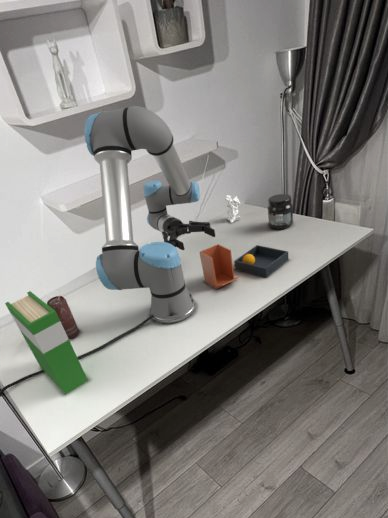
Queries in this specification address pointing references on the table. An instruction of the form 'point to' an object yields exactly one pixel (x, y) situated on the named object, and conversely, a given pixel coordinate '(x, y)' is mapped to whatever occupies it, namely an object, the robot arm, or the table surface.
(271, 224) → the supplement container
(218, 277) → the orange open box
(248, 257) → the ball
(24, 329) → the hardback book
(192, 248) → the table surface
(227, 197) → the white figurine
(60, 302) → the can
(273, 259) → the tray
